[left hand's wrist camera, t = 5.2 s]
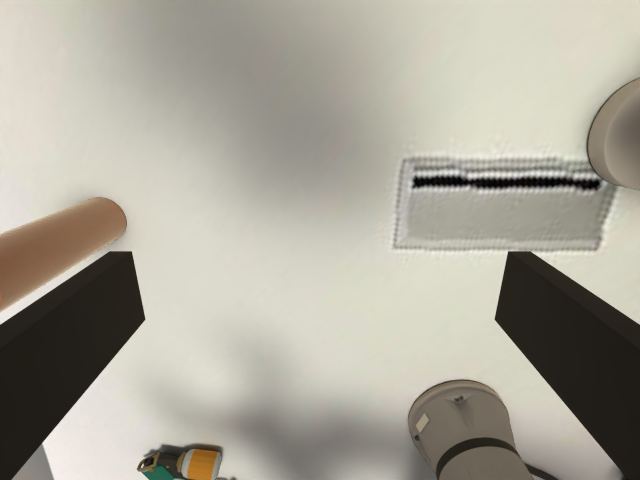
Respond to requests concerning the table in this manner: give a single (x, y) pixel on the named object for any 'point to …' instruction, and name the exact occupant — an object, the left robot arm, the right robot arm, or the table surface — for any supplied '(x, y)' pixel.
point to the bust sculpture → (618, 138)
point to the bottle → (55, 246)
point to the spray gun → (182, 466)
